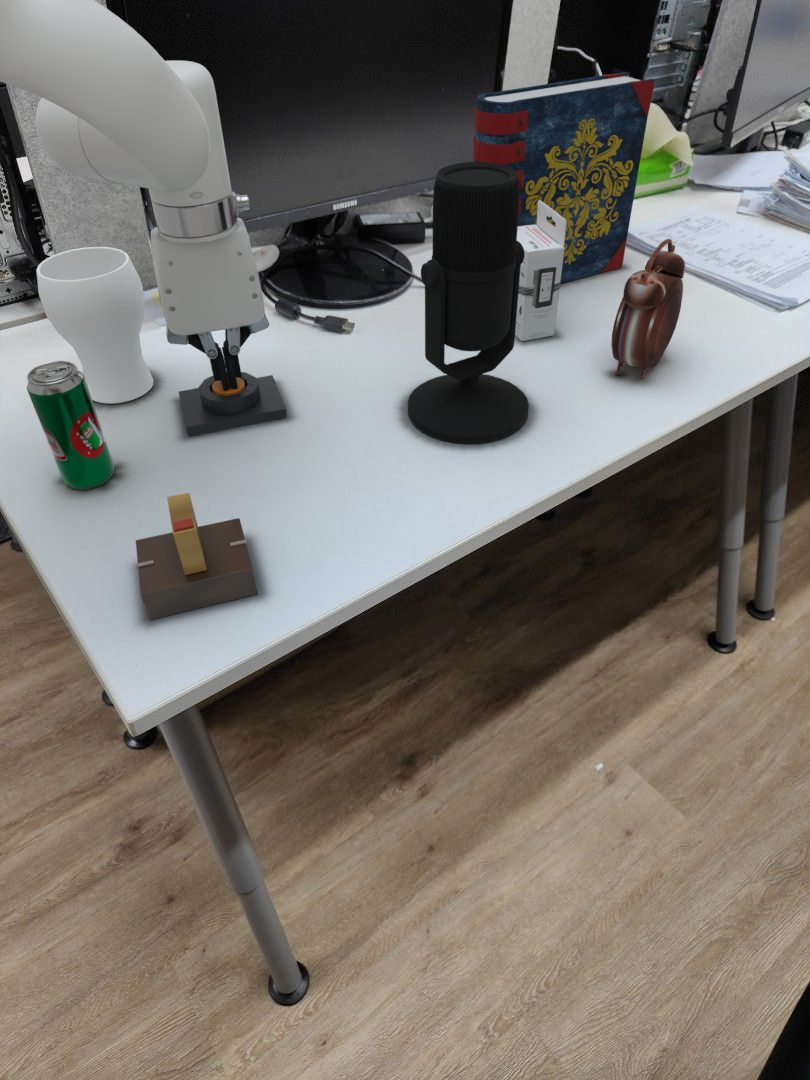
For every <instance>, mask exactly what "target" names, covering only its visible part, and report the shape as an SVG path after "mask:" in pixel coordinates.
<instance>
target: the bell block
mask: <svg viewBox="0 0 810 1080" xmlns="http://www.w3.org/2000/svg"><path fill="white" fill-rule="evenodd" d="M241 375H242V377H239V378H241V379H242V380H243V381H244V383H245V390H243V391H241V392H239V393H238V394H234V395H229V396H223V395H216V394H214V393H213V390H212V385H213V383H214V382H215V380H214V377H213V375H211V376H209V377H207V378H204V379H203V381H202V382H201V383H200V385H199V386H198V387H197V388H191V389H190V388H189V389H183V390H179V391H178V397H179V401H180V406H181V410H182V415H183V420H184V425H185V430H186V433H187V437H192V436H198V435H203V434H208V433H212V432H213V433H214V432H218V431H223V430H228V429H229V430H231V429H233V428H240V427H244V426H245V427H246V426H250V425H256V424H260V423H266V422H272V421H276V420H281V419H282V420H283V419H287V418H288V413H287V408H286V404H285V403H284V400H283V398H282V395H281V392H280V390H279V387H278V385H277V383H276V380H275V378H274V376H273V374H271V375H264V376H259V377H256V376H254V375H252V374H250V373H248V372H246V371H241Z"/></svg>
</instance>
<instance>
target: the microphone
mask: <svg viewBox="0 0 810 1080" xmlns="http://www.w3.org/2000/svg"><path fill="white" fill-rule="evenodd" d="M518 215H519V179H518V175H517V172H516V171H515V170H514V169H513V168H511V167H508V166H505V165H501V164H496V163H488V162H475V161H467V162H459V163H453V164H450V165H446V166H444V167H442V168H440V169H439V170H438V171H437V173H436V176H435V179H434V185H433V196H432V255H431V259H428V260H427V261H426V262H424V263H423V264H422V266H421V268H420V278H421V281H422V283H423V285H424V356H425V360H426V361H427V362H429V363H430V364H431V365H432V366H434V367H435V368H437V369H438V370H439V371H440V372H442V373H443V374H444V375H443V374H442V375H440V376H436V377H434V378H431V379H428V380H426V381H424V382H422V383H421V384H419V385H418V386H416V388H415V389H413V391H412V392H411V393H410V395H409V396H408V400H407V416H408V418H409V420H410V422H411V424H413V425H414V427H415V428H416V429H418V430H419V431H420V432H422V433H423V434H425V435H427V436H429V437H430V438H433V439H436V440H439V441H442V442H446V443H447V442H448V443H451V444H460V445H480V444H486V443H487V444H488V443H493V442H496V441H500V440H503V439H505V438H508V437H510V436H512V435H514V434H515V433H517V432H518V431H519V430H520V429H521V428H523V426H524V425H525V424H526V422H527V420H528V417H529V408H530V404H529V400H528V397H527V396H526V394H525V393H524V392H523V391H522V389H520V388H519V387H518V386H516V385H515V384H513V383H511V382H510V381H507V380H506V379H503V378H502V377H501V378H500V377H497V376H495V375H490V374H487V373H490V372H492V371H494V370H495V369H497V367H498V366H499V365H500V364H501V363H502V362H503V361H504V360H505V359H506V357H507V356H508V355H509V354H510V353H511V352H512V351H513V349H514V347H515V341H516V335H515V329H516V316H517V304H518V292H519V280H520V267H521V264H522V262H523V260H524V248H523V246H522V244H521V243H520V242H519V241H517V228H518ZM445 346H447V347H449V348H452V349H453V350H458V351H460V352H461V351H462V352H478V353H477V354H476V355H473V356H469V357H467V358H463V359H460V360H457V361H454V362H449V363H445V355H446V354H445V353H446V351H445V349H446V348H445Z"/></svg>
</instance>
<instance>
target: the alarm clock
mask: <svg viewBox="0 0 810 1080" xmlns="http://www.w3.org/2000/svg"><path fill="white" fill-rule="evenodd" d="M665 246H667V250H662V249H663V248H664V247H665ZM675 250H676V246H675V244H673V241H672V239H670V238H667V239H665V240H664V239H663V240H662V242H660V244H659V245H658V246H657V247H656V248H655V250H654V251H653V252H652V254H651V255H650V257H649V258H648V260H647V262H646V264H645V266H644V269H642V270H637V271H636V272H634V273H632V274H631V275H630V277H628V278H627V280H626V282H625V284H624V286H623V296H622V299H621V301H620V302H619V306H618V309H617V312H616V315H615V319H614V321H613V327H612V333H611V343H610V344H611V345H610V346H611V353H612V357H613V359H614V360H616V361H617V367H616V371H615V373H614V374H615V376H619V375H620V371H621V369H622V367H623V366H624V365H628V366H630V367H634V368H640V375H639V378H640V379H644V378H645V376H644V374H645V372H646V370H652V369H654V368H655V367H656V366H657V364H659V362H660V360H661V359H662V358H663V355H664V353H665V352H666V350H667V348H668V346H669V344H670V342H671V340H672V338H673V336H674V332H675V330H676V327H677V324H678V321H679V317H680V313H681V309H682V302H683V301H682V300H683V294H684V282H683V279H684V276H685V272H686V262H685V260H684V258H683V257H682V256H681V255H679V254H678V253H675Z"/></svg>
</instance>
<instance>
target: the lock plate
mask: <svg viewBox="0 0 810 1080" xmlns="http://www.w3.org/2000/svg"><path fill="white" fill-rule="evenodd" d="M198 528H199V532H200V537H201V542H202V547H203V552H204V557H205V562H206V567H207V570H206V571H201V572H197V573H193V574H188V575H185V574H184V570H183V567H182V563H181V560H180V556H179V553H178V550H177V546H176V543H175V539H174V536H173V531H172V532H167V533H162V534H157V535H153V536H149V537H145V538H141V539H140V538H139V539H136V540H135V549H136V558H137V559H136V560H137V563H135V567H136V569H138V579H139V588H140V589H139V590H140V596H141V600H142V603H143V605H144V608H145V611H146V613H147V616H148V619H149V621H151V620H156V619H160V618H164V617H168V616H172V615H176V614H180V613H185V612H189V611H194V610H198V609H202V608H207V607H209V606H215V605H219V604H223V603H227V602H231V601H235V600H240V599H244V598H249V597H252V596H255V595H258V594H259V591H258V586H257V581H256V577H255V572H254V568H253V563H252V560H251V556H250V552H249V550H248V549H249V548H248V545H247V544H248V539H246V537H245V533H244V529H243V525H242V522H241V519H240V517H238V518H232V519H229V520H223V521H219V522H214V523H209V524H205V525H199V526H198Z"/></svg>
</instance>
